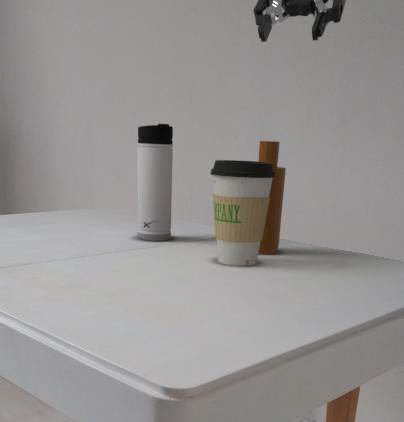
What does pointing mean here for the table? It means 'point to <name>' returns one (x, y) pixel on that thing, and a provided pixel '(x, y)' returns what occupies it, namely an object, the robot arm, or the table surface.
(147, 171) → the travel mug
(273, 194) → the amber bottle
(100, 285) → the table surface
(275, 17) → the robot arm
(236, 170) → the coffee cup
